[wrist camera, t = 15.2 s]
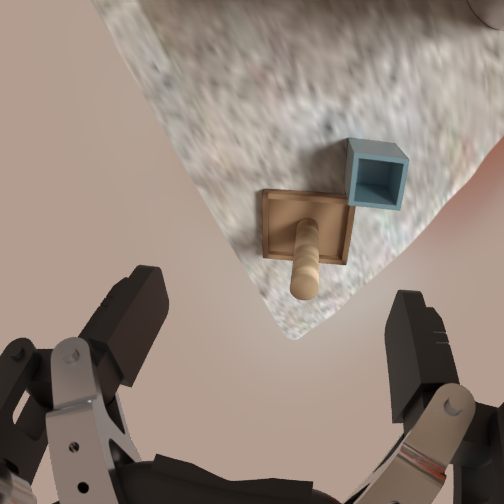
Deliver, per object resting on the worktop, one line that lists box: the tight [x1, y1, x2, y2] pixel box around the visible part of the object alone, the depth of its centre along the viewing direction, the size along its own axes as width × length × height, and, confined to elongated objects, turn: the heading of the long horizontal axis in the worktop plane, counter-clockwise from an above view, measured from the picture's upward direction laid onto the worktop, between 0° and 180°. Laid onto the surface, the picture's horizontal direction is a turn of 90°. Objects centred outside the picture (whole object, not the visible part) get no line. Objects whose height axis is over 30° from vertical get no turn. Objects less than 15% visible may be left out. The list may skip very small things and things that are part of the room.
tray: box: [262, 189, 356, 265], centre depth 47 cm, size 13×11×2 cm
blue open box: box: [344, 138, 409, 211], centre depth 37 cm, size 7×7×7 cm
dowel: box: [290, 218, 319, 300], centre depth 41 cm, size 3×3×14 cm
